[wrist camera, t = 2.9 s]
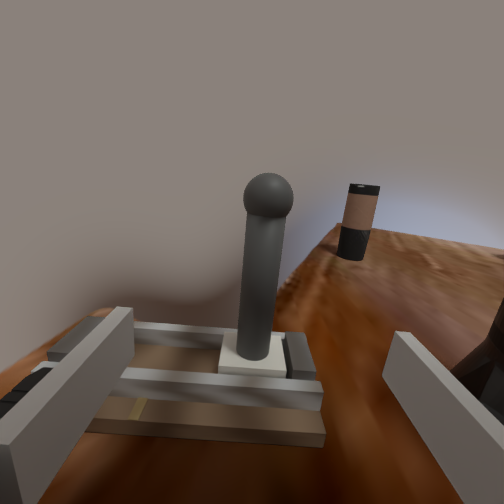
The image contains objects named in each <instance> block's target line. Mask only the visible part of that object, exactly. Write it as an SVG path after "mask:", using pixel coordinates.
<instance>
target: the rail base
mask: <svg viewBox="0 0 504 504" xmlns="http://www.w3.org/2000/svg"><path fill="white" fill-rule="evenodd" d="M104 319H105V317H92V316H87V317H86V318H85V319H84V320H83V321H82V322H80V323H79V324H78V325H77V326H76V327H75V328H73V329H72V330H71V331H70V332H69V333H68V334H67V335H65V336H64V337H63V338H62V339H61V340H60V341H58V342H57V343H56V344H55V345H54V346H53V347H52V348H50V349H49V350H48V351H47V356H48V361H42V362H41V363H40V364H39V365H38V366H36V367H35V368H34V369H33V370H32V371H31V374H32V373H34V372H36V371H37V370H39V369H41V368H43V367H50V368H54V367H55V366H56V365H57V364H58V363H59V362H60V361H61V360H62V359H63V358H64V357H65V356H66V355H67V354H69V353H70V352H71V351H72V350H73V349H74V348H75V347H76V346H77V345H78V344H79V343H80V342H81V341H82V340H83V339H84V338H85V337H86V336H87V335H88V334H89V333H90V332H91V331H92V330H93V329H94V328H95V327H96V326H98V325H99V324H100V323H101V322H102V321H103V320H104ZM133 324H134V349H135V355H134V357H133V358H132V360H131V361H130V363H129V364H128V366H127V368H126V369H125V371H124V372H123V374H122V375H121V377H120V378H119V380H118V381H117V383H116V384H115V386H114V387H113V389H112V390H111V392H110V393H109V395H108V396H107V398H106V399H105V401H104V403H103V404H102V406H101V407H100V409H99V410H98V412H97V413H96V415H95V416H94V418H93V419H92V421H91V422H90V424H89V425H88V427H87V428H86V430H85V431H84V432H96V433H111V434H125V435H140V436H155V437H170V438H185V439H200V440H215V441H230V442H245V443H259V444H274V445H289V446H304V447H319V448H323V445H324V441H325V437H326V431H325V428H324V424H323V421H322V417H321V414H320V408H321V403H322V398H323V394H324V392H323V389H322V386H321V383H320V381H315V376H316V369H315V366H314V363H313V360H312V357H311V353H310V350H309V347H308V344H307V339H306V336H305V334H304V333H299V332H286V331H285V333H280V332H271V335H275V336H281V341H282V347H283V353H284V359H285V364H286V370H287V371H286V378H285V379H282V378H268V377H255V376H241V375H227V374H218V365H219V359H220V354H221V348H222V343H223V337H224V332H236V333H237V331H238V329H228V328H215V327H202V326H189V325H176V324H163V323H150V322H137V321H133Z"/></svg>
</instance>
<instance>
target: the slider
mask: <svg viewBox="0 0 504 504" xmlns="http://www.w3.org/2000/svg"><path fill="white" fill-rule="evenodd" d="M243 201H244V206H245V209H246V211H247V221H246V233H245V245H244V257H243V271H242V282H241V295H240V308H239V320H238V331H237V333H236V332H224V337H223V343H222V348H221V354H220V359H219V365H218V374H227V375H241V376H255V377H268V378H282V379H285V378H286V371H287V370H286V364H285V359H284V353H283V347H282V341H281V336H275V335H271V332H272V324H273V317H274V309H275V301H276V293H277V285H278V277H279V269H280V261H281V254H282V245H283V237H284V230H285V222H286V216H287V215H288V213H289V211H290V210H291V208H292V205H293V191H292V188H291V186H290V185H289V183H288V182H287V181H286V180H285V179H284V178H283V177H281V176H280V175H277V174H274V173H264V174H260V175H258V176H256V177H254V178H253V179H252V180H251V181H250V182H249V183H248V185H247V186H246V188H245V191H244V198H243Z"/></svg>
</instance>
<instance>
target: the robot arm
mask: <svg viewBox="0 0 504 504" xmlns="http://www.w3.org/2000/svg"><path fill="white" fill-rule="evenodd" d="M134 355H135V349H134V324H133V308H128V307H116V308H115V309H114V310H113V311H112V312H111V313H110V314H109V315H108V316H107V317H106V318H105V319H104V320H103V321H102V322H101V323H100V324H99V325H98V326H96V327H95V328H94V329H93V330H92V331H91V332H90V333H89V334H88V335H87V336H86V337H85V338H84V339H83V340H82V341H81V342H80V343H79V344H78V345H77V346H76V347H75V348H74V349H73V350H72V351H71V352H70V353H69V354H67V355H66V356H65V357H64V358H63V359H62V360H61V361H60V362H59V363H58V364H57V365H56V366H55V367H54V368H50V367H43V368H41V369H39V370H37V371H36V372H34V373H32V374H30V375H29V376H27V377H25V378H24V379H23V380H22V381H21V382H20V383H19V384H18V385H16V386H15V387H14V388H13V389H12V391H11V392H9V393H7V394H6V395H5V396H4V397H3V398H2V399H1V400H0V504H37V503H38V501H39V500H40V498H41V497H42V495H43V494H44V492H45V491H46V489H47V488H48V486H49V485H50V483H51V482H52V480H53V479H54V477H55V476H56V474H57V472H58V471H59V469H60V468H61V466H62V465H63V463H64V462H65V460H66V459H67V457H68V456H69V454H70V453H71V451H72V450H73V448H74V447H75V445H76V444H77V442H78V441H79V439H80V437H81V436H82V434H83V433H84V431H85V430H86V428H87V427H88V425H89V424H90V422H91V421H92V419H93V418H94V416H95V415H96V413H97V412H98V410H99V409H100V407H101V406H102V404H103V403H104V401H105V399H106V398H107V396H108V395H109V393H110V392H111V390H112V389H113V387H114V386H115V384H116V383H117V381H118V380H119V378H120V377H121V375H122V374H123V372H124V371H125V369H126V368H127V366H128V364H129V363H130V361H131V360H132V358H133V357H134ZM382 377H383V378H384V380H385V381H386V383H387V385H388V386H389V388H390V389H391V391H392V392H393V394H394V395H395V397H396V399H397V400H398V402H399V403H400V405H401V406H402V408H403V409H404V411H405V412H406V414H407V416H408V417H409V419H410V420H411V422H412V423H413V425H414V426H415V428H416V430H417V431H418V433H419V434H420V436H421V437H422V439H423V440H424V442H425V443H426V445H427V447H428V448H429V450H430V451H431V453H432V454H433V456H434V457H435V459H436V461H437V462H438V464H439V465H440V467H441V468H442V470H443V471H444V473H445V475H446V476H447V478H448V479H449V481H450V482H451V484H452V485H453V487H454V488H455V490H456V492H457V493H458V495H459V496H460V498H461V499H462V501H463V502H464V504H504V298H503V300H502V303H501V305H500V307H499V309H498V312H497V314H496V316H495V319H494V321H493V324H492V326H491V328H490V331H489V333H488V335H487V337H486V339H485V340H484V341H483V342H482V343H481V344H480V345H479V346H477V347H476V348H475V349H474V350H473V351H472V352H471V353H470V354H468V355H467V356H466V357H465V358H464V359H463V360H462V361H461V362H459V363H458V364H457V365H456V366H455V367H454V368H453V369H452V370H450V371H448V370H447V369H446V368H445V367H444V366H443V365H442V364H441V363H440V362H439V361H438V360H437V359H436V358H435V357H434V356H433V355H432V354H431V353H430V352H429V351H428V350H427V349H426V348H425V347H424V346H423V345H422V344H421V343H420V342H419V341H418V340H417V339H416V338H415V337H414V336H413V335H412V334H411V333H410V332H399V331H395V333H394V337H393V340H392V343H391V347H390V350H389V353H388V357H387V360H386V363H385V367H384V370H383V373H382Z"/></svg>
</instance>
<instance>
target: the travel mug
mask: <svg viewBox="0 0 504 504" xmlns="http://www.w3.org/2000/svg"><path fill="white" fill-rule="evenodd" d="M379 190H380V186H372V185H362V184H350V187H349V191H348V196H347V201H346V206H345V211H344V216H343V221H342V226H341V232H340V238H339V244H338V251H337V255H338V256H339V257H341V258H344V259H348V260H354V261H360V260H363V257H364V254H365V250H366V246H367V243H368V239H369V235H370V231H371V227H372V222H373V218H374V213H375V209H376V204H377V199H378V195H379Z"/></svg>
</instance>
